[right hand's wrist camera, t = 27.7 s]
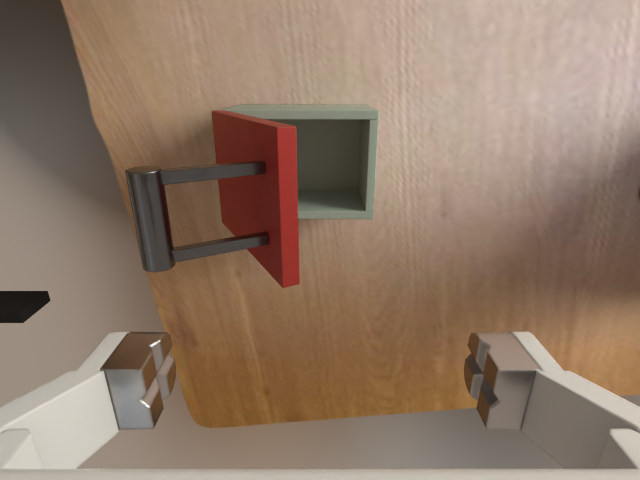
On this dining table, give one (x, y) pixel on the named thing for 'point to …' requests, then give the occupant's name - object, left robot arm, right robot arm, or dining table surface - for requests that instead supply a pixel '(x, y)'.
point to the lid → (230, 198)
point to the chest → (329, 156)
